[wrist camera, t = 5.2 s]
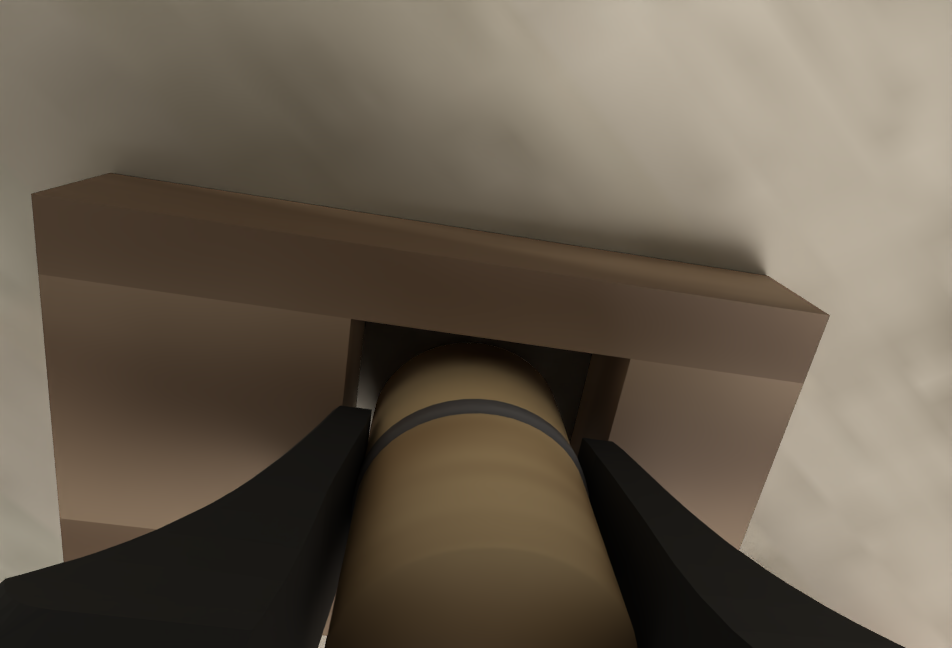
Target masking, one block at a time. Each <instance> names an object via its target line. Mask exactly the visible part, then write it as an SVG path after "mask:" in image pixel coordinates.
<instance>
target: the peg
mask: <svg viewBox="0 0 952 648" xmlns="http://www.w3.org/2000/svg"><path fill="white" fill-rule="evenodd" d="M325 648H637V642H636V638H635V633H634V629H633V626H632V623H631V620H630V618H629V615H628V612H627V609H626V606H625V603H624V600H623V597H622V594H621V591H620V588H619V585H618V582H617V579H616V577H615V574H614V571H613V568H612V565H611V562H610V559H609V556H608V553H607V550H606V547H605V544H604V541H603V539H602V536H601V533H600V530H599V527H598V524H597V521H596V518H595V515H594V512H593V509H592V506H591V503H590V500H589V492H588V488H587V483H586V480H585V477H584V474H583V471H582V468H581V466H580V463H579V461H578V458H577V456H576V454H575V452H574V451H573V449H572V447H571V445H570V442H569V439H568V436H567V433H566V430H565V427H564V424H563V421H562V418H561V416H560V413H559V410H558V407H557V404H556V401H555V398H554V396H553V393H552V391H551V389H550V387H549V386H548V384H547V382H546V381H545V379H544V378H543V377H542V375H541V374H540V373H539V372H538V371H537V370H536V369H535V368H534V367H533V366H532V365H531V364H530V363H528V362H527V361H525V360H524V359H523V358H521V357H519V356H518V355H516V354H514V353H512V352H510V351H508V350H505V349H502V348H500V347H496V346H492V345H488V344H481V343H454V344H447V345H443V346H439V347H435V348H433V349H430V350H428V351H425V352H423V353H421V354H419V355H417V356H415V357H414V358H412V359H411V360H409V361H408V362H406V363H405V364H404V365H402V366H401V367H400V368H399V369H398V370H397V371H396V372H395V373H394V374H393V375H392V376H391V378H390V379H389V380H388V381H387V383H386V384H385V386H384V388H383V389H382V391H381V393H380V395H379V398H378V400H377V403H376V407H375V410H374V415H373V419H372V424H371V429H370V434H369V439H368V445H367V450H366V454H365V459H364V461H363V464H362V466H361V468H360V471H359V475H358V479H357V483H356V487H355V492H354V496H353V504H352V520H351V525H350V529H349V534H348V539H347V544H346V548H345V553H344V558H343V563H342V568H341V572H340V577H339V582H338V587H337V591H336V596H335V601H334V606H333V611H332V615H331V620H330V625H329V630H328V634H327V639H326V644H325Z"/></svg>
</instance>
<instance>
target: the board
mask: <svg viewBox="0 0 952 648" xmlns="http://www.w3.org/2000/svg"><path fill="white" fill-rule="evenodd" d="M31 196H32V207H33V219H34V230H35V241H36V253H37V264H38V275H39V287H40V298H41V309H42V321H43V332H44V343H45V355H46V366H47V377H48V389H49V400H50V411H51V423H52V434H53V445H54V457H55V468H56V479H57V491H58V502H59V513H60V525H61V536H62V547H63V559H64V562H67V561H70V560H74V559H77V558H81V557H84V556H87V555H90V554H93V553H96V552H99V551H102V550H105V549H107V548H110V547H113V546H116V545H118V544H121V543H124V542H127V541H129V540H132V539H134V538H137V537H139V536H142V535H144V534H147V533H149V532H152V531H154V530H157V529H159V528H161V527H163V526H165V525H167V524H170V523H172V522H174V521H176V520H178V519H180V518H182V517H184V516H186V515H188V514H191V513H193V512H195V511H197V510H199V509H201V508H203V507H205V506H207V505H209V504H211V503H213V502H214V501H216V500H218V499H220V498H221V497H223V496H225V495H227V494H228V493H230V492H232V491H234V490H235V489H237V488H238V487H240V486H241V485H243V484H244V483H246V482H247V481H249V480H250V479H252V478H253V477H254V476H256V475H257V474H259V473H260V472H261V471H263V470H264V469H265V468H267V467H268V466H269V465H271V464H272V463H274V462H275V461H276V460H278V459H279V458H280V457H281V456H283V455H284V454H285V453H286V452H288V451H289V450H290V449H291V448H292V447H294V446H295V445H296V444H297V443H298V442H299V441H301V440H302V439H303V438H304V437H305V436H306V435H308V434H309V433H310V432H311V431H312V430H313V429H314V428H315V427H316V426H317V425H319V424H320V423H321V422H322V421H323V420H324V419H325V418H326V417H327V416H328V415H329V414H330V413H331V412H332V411H333V410H334V409H336V408H337V407H339V406H347V407H355V408H356V402H357V393H358V383H359V374H360V365H361V355H362V346H363V337H364V327H365V321H369V322H376V323H383V324H390V325H397V326H404V327H411V328H418V329H425V330H432V331H439V332H446V333H453V334H460V335H467V336H474V337H481V338H488V339H495V340H502V341H509V342H516V343H523V344H530V345H537V346H544V347H551V348H558V349H565V350H572V351H579V352H586V353H593V354H592V358H591V362H590V366H589V370H588V374H587V378H586V382H585V386H584V390H583V394H582V398H581V402H580V406H579V410H578V414H577V418H576V422H575V426H574V430H573V434H572V438H571V442H570V445H571V447H572V449H573V451H574V452H575V454H576V456H577V457H578V453H579V449H580V445H581V441H582V438H590V439H597V440H605V441H612V442H614V443H615V444H617V445H618V446H619V447H620V448H621V449H623V450H624V451H625V452H626V453H627V454H628V455H629V456H630V457H631V458H633V459H634V460H635V461H636V462H637V463H638V464H639V465H640V466H641V467H642V468H643V469H644V470H645V471H646V472H647V473H648V474H649V475H651V476H652V477H653V478H654V479H655V480H656V481H657V482H658V483H659V484H660V485H661V486H662V487H663V488H664V489H666V490H667V491H668V492H669V493H670V494H671V495H672V496H673V497H674V498H675V499H676V500H678V501H679V502H680V503H681V504H682V505H683V506H684V507H686V508H687V509H688V510H689V511H690V512H691V513H692V514H694V515H695V516H696V517H697V518H698V519H700V520H701V521H702V522H703V523H704V524H706V525H707V526H708V527H709V528H711V529H712V530H713V531H714V532H715V533H717V534H718V535H719V536H720V537H722V538H723V539H724V540H725V541H727V542H728V543H729V544H731V545H732V546H733V547H735V548H736V549H737V550H739V549H740V546H741V544H742V541H743V538H744V536H745V533H746V531H747V528H748V525H749V523H750V520H751V518H752V515H753V513H754V510H755V507H756V505H757V502H758V500H759V497H760V494H761V492H762V489H763V487H764V484H765V482H766V479H767V476H768V474H769V471H770V469H771V466H772V464H773V461H774V458H775V456H776V453H777V451H778V448H779V445H780V443H781V440H782V438H783V435H784V433H785V430H786V427H787V425H788V422H789V420H790V417H791V414H792V412H793V409H794V407H795V404H796V402H797V399H798V396H799V394H800V391H801V389H802V386H803V384H804V381H805V378H806V376H807V373H808V371H809V368H810V365H811V363H812V360H813V358H814V355H815V353H816V350H817V347H818V345H819V342H820V340H821V337H822V334H823V332H824V329H825V327H826V324H827V322H828V319H829V316H830V315H828V314H827V313H825V312H824V311H822V310H821V309H819V308H817V307H816V306H814V305H813V304H811V303H810V302H808V301H806V300H805V299H803V298H802V297H800V296H799V295H797V294H795V293H794V292H792V291H791V290H789V289H788V288H786V287H785V286H783V285H781V284H780V283H778V282H777V281H775V280H774V279H772V278H770V277H769V276H766V275H759V274H753V273H746V272H740V271H734V270H727V269H721V268H714V267H708V266H702V265H695V264H689V263H682V262H676V261H670V260H663V259H657V258H650V257H644V256H638V255H631V254H625V253H618V252H612V251H606V250H599V249H593V248H586V247H580V246H574V245H567V244H561V243H554V242H548V241H542V240H535V239H529V238H522V237H516V236H510V235H503V234H497V233H490V232H484V231H478V230H471V229H465V228H458V227H452V226H446V225H439V224H433V223H426V222H420V221H414V220H407V219H401V218H394V217H388V216H382V215H375V214H369V213H362V212H356V211H350V210H343V209H337V208H330V207H324V206H318V205H311V204H305V203H298V202H292V201H286V200H279V199H273V198H266V197H260V196H254V195H247V194H241V193H234V192H228V191H222V190H215V189H209V188H202V187H196V186H190V185H183V184H177V183H170V182H164V181H158V180H151V179H145V178H138V177H132V176H126V175H119V174H113V173H108V174H104V175H101V176H97V177H93V178H89V179H85V180H82V181H78V182H74V183H70V184H67V185H63V186H59V187H55V188H51V189H48V190H44V191H40V192H36V193H32V194H31ZM335 596H336V595H335ZM334 601H335V598H334ZM334 601H333V604H332V607H331V610H330V613H329V616H328V619H327V622H326V625H325V628H324V631H323V634H322V635H325V636H327V634H328V630H329V625H330V620H331V615H332V611H333V606H334Z"/></svg>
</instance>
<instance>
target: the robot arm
mask: <svg viewBox="0 0 952 648" xmlns="http://www.w3.org/2000/svg"><path fill="white" fill-rule="evenodd" d="M371 413H372V410H370V409H363V408H355V407H347V406H339V407H337V408H336V409H334V410H333V411H332V412H331V413H330V414H329V415H328V416H327V417H326V418H325V419H324V420H323V421H322V422H321V423H320V424H319V425H317V426H316V427H315V428H314V429H313V430H312V431H311V432H310V433H309V434H308V435H306V436H305V437H304V438H303V439H302V440H301V441H299V442H298V443H297V444H296V445H295V446H294V447H292V448H291V449H290V450H289V451H288V452H286V453H285V454H284V455H283V456H281V457H280V458H279V459H278V460H276V461H275V462H274V463H272V464H271V465H269V466H268V467H267V468H265V469H264V470H263V471H261V472H260V473H259V474H257V475H256V476H254V477H253V478H252V479H250V480H249V481H247V482H246V483H244V484H243V485H241V486H240V487H238V488H237V489H235V490H234V491H232V492H230V493H228V494H227V495H225V496H223V497H221V498H220V499H218V500H216V501H214V502H213V503H211V504H209V505H207V506H205V507H203V508H201V509H199V510H197V511H195V512H193V513H191V514H188V515H186V516H184V517H182V518H180V519H178V520H176V521H174V522H172V523H170V524H167V525H165V526H163V527H161V528H159V529H157V530H154V531H152V532H149V533H147V534H144V535H142V536H139V537H137V538H134V539H132V540H129V541H127V542H124V543H121V544H118V545H116V546H113V547H110V548H107V549H105V550H102V551H99V552H96V553H93V554H90V555H87V556H84V557H81V558H77V559H74V560H70V561H67V562H64V563H60V564H57V565H53V566H50V567H46V568H43V569H39V570H36V571H32V572H29V573H25V574H22V575H18V576H14V577H10V578H6V579H5V580H4V581H3V582H1V583H0V648H318V646H319V643H320V640H321V637H322V634H323V631H324V628H325V625H326V622H327V619H328V616H329V613H330V610H331V607H332V604H333V601H334V598H335V595H336V591H337V587H338V582H339V577H340V572H341V568H342V563H343V558H344V553H345V548H346V544H347V539H348V534H349V529H350V525H351V520H352V504H353V496H354V492H355V487H356V483H357V479H358V475H359V471H360V468H361V466H362V464H363V461H364V459H365V454H366V450H367V445H368V438H369V430H370V421H371ZM577 458H578V461H579V463H580V466H581V468H582V471H583V474H584V477H585V480H586V483H587V488H588V492H589V500H590V503H591V506H592V509H593V512H594V515H595V518H596V521H597V524H598V527H599V530H600V533H601V536H602V539H603V541H604V544H605V547H606V550H607V553H608V556H609V559H610V562H611V565H612V568H613V571H614V574H615V577H616V579H617V582H618V585H619V588H620V591H621V594H622V597H623V600H624V603H625V606H626V609H627V612H628V615H629V618H630V620H631V623H632V626H633V629H634V633H635V638H636V642H637V648H905V647H903V646H901V645H899V644H897V643H895V642H893V641H891V640H889V639H887V638H885V637H883V636H881V635H879V634H877V633H875V632H873V631H871V630H869V629H867V628H865V627H863V626H861V625H859V624H857V623H855V622H853V621H851V620H849V619H848V618H846V617H844V616H842V615H840V614H838V613H837V612H835V611H833V610H831V609H829V608H827V607H826V606H824V605H822V604H821V603H819V602H817V601H816V600H814V599H812V598H811V597H809V596H807V595H806V594H804V593H802V592H801V591H799V590H797V589H796V588H794V587H792V586H791V585H789V584H787V583H786V582H784V581H783V580H781V579H780V578H778V577H776V576H775V575H773V574H772V573H770V572H769V571H767V570H766V569H764V568H763V567H762V566H760V565H759V564H757V563H756V562H754V561H753V560H752V559H750V558H749V557H747V556H746V555H745V554H743V553H742V552H740V551H739V550H737V549H736V548H735V547H733V546H732V545H731V544H729V543H728V542H727V541H725V540H724V539H723V538H722V537H720V536H719V535H718V534H717V533H715V532H714V531H713V530H712V529H711V528H709V527H708V526H707V525H706V524H704V523H703V522H702V521H701V520H700V519H698V518H697V517H696V516H695V515H694V514H692V513H691V512H690V511H689V510H688V509H687V508H686V507H684V506H683V505H682V504H681V503H680V502H679V501H678V500H676V499H675V498H674V497H673V496H672V495H671V494H670V493H669V492H668V491H667V490H666V489H664V488H663V487H662V486H661V485H660V484H659V483H658V482H657V481H656V480H655V479H654V478H653V477H652V476H651V475H649V474H648V473H647V472H646V471H645V470H644V469H643V468H642V467H641V466H640V465H639V464H638V463H637V462H636V461H635V460H634V459H633V458H631V457H630V456H629V455H628V454H627V453H626V452H625V451H624V450H623V449H621V448H620V447H619V446H618V445H617V444H615V443H614V442H612V441H605V440H597V439H590V438H582V441H581V445H580V449H579V453H578V457H577Z"/></svg>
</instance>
